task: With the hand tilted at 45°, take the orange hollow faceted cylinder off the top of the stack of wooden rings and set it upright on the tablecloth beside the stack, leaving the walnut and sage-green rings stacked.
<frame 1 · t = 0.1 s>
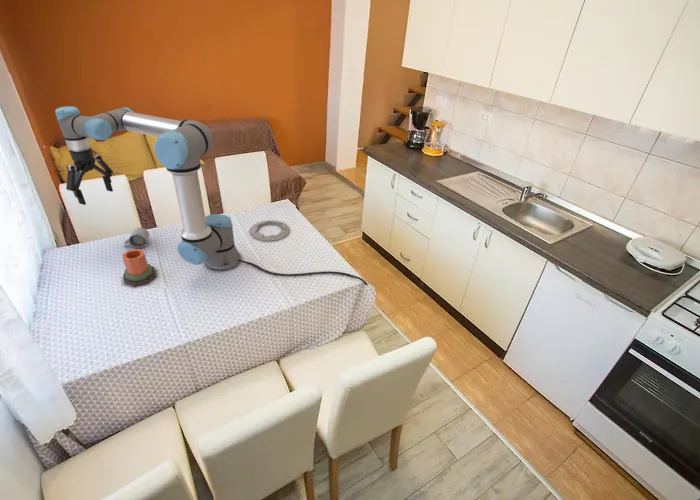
hand: (96, 197, 161), 28 cm above the table, tool pointing down, fingers open, 13 cm apart
grey flanged cylinder: (138, 244, 182), on the table
walnut ring: (140, 277, 163), on the table, touching sage ring
sage ring: (139, 273, 161), point 2 cm above the table, touching orange hollow faceted cylinder, walnut ring
ring: (270, 231, 200), on the table
orange hollow faceted cylinder: (138, 269, 160), point 4 cm above the table, touching sage ring
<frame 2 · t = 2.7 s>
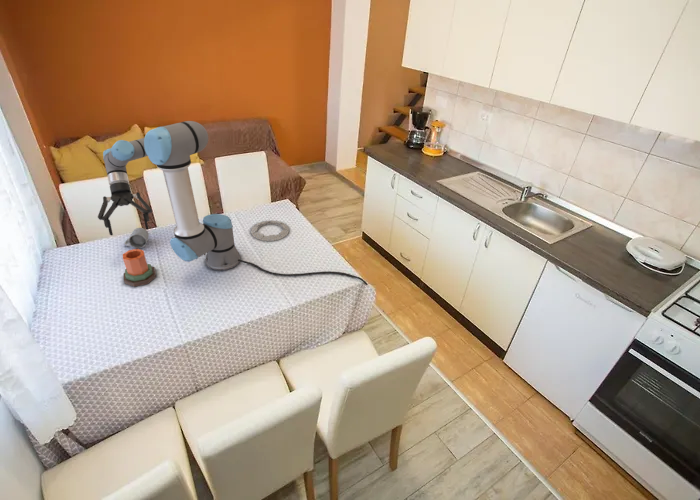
hand: (129, 231, 161), 17 cm above the table, tool tilted 45°, fingers open, 13 cm apart
nothing on the table moved.
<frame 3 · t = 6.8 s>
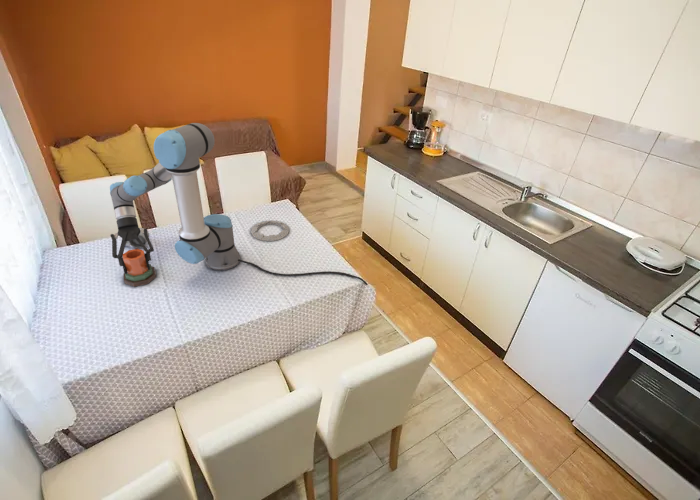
hand: (137, 270, 157), 6 cm above the table, tool tilted 45°, fingers closed on orange hollow faceted cylinder, 8 cm apart
orange hollow faceted cylinder: (138, 269, 160), point 4 cm above the table, touching gripper, sage ring
everything else where it was.
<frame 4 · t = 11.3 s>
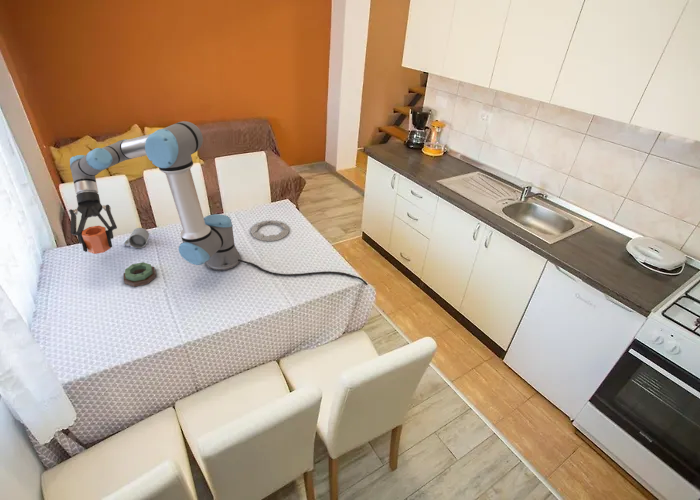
hand: (98, 248, 149), 17 cm above the table, tool tilted 45°, fingers closed on orange hollow faceted cylinder, 8 cm apart
sage ring: (139, 273, 161), point 2 cm above the table, touching walnut ring
orange hollow faceted cylinder: (99, 247, 152), point 16 cm above the table, touching gripper
everything else where it was.
when the fingers open (2 cm above the table, at t = 16.0 s): orange hollow faceted cylinder stays where it is, on the table.
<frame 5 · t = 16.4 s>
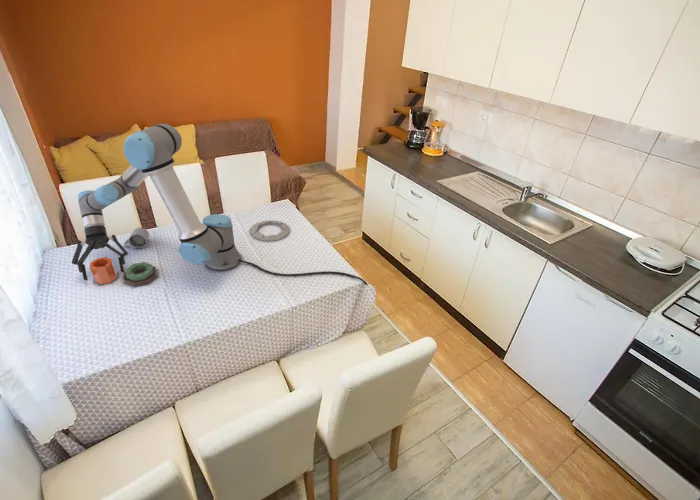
hand: (104, 276, 157), 3 cm above the table, tool tilted 45°, fingers open, 13 cm apart
walnut ring: (141, 276, 163), on the table, touching gripper, sage ring
orange hollow faceted cylinder: (106, 278, 161), on the table
everything else where it was.
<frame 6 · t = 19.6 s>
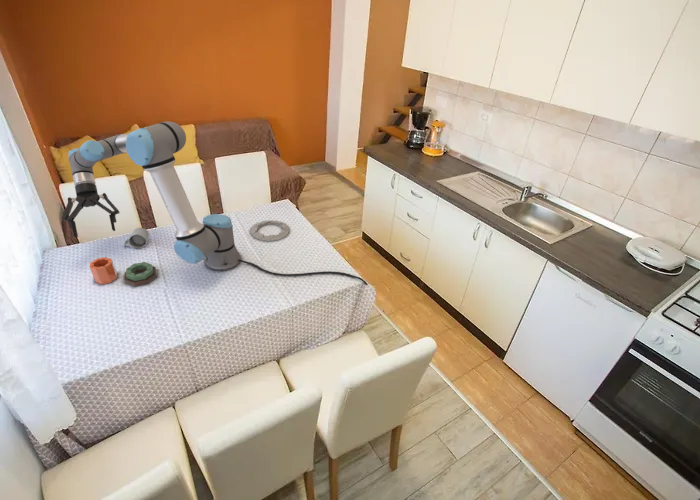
hand: (95, 233, 158), 17 cm above the table, tool tilted 45°, fingers open, 13 cm apart
walnut ring: (141, 276, 163), on the table, touching sage ring
everything else where it was.
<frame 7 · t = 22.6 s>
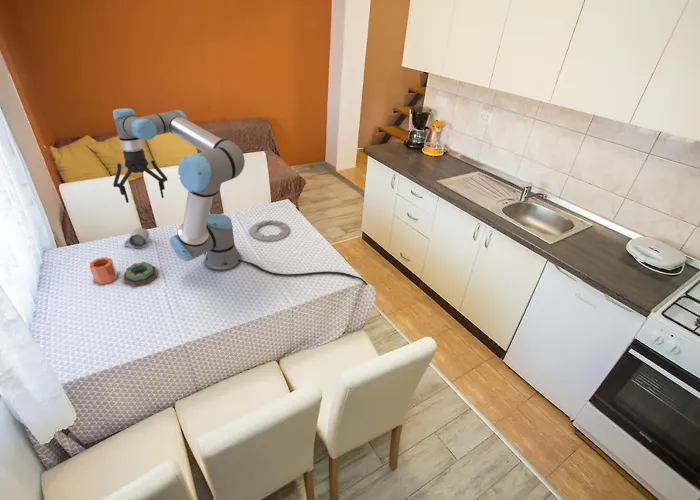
hand: (145, 199, 162), 28 cm above the table, tool pointing down, fingers open, 13 cm apart
nothing on the table moved.
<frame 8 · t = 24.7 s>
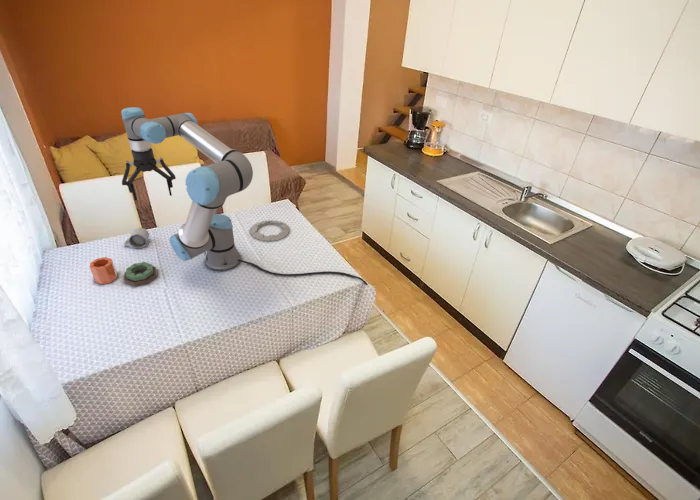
hand: (153, 196, 163), 29 cm above the table, tool pointing down, fingers open, 13 cm apart
nothing on the table moved.
at the end: orange hollow faceted cylinder inside the target area (0.1 cm from its centre), on the table; orange hollow faceted cylinder tilted 0°; sage ring 0.0 cm off-centre on the walnut ring, point 2.0 cm above the walnut ring's base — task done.
